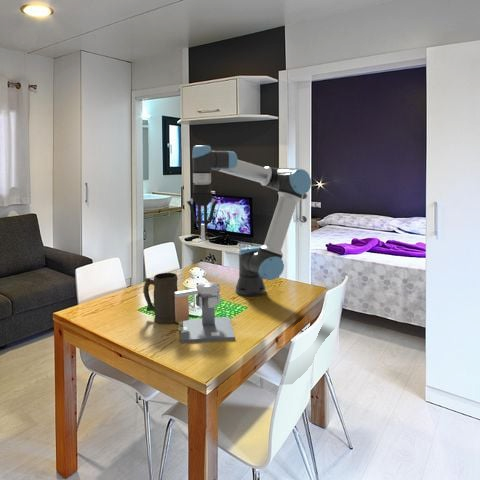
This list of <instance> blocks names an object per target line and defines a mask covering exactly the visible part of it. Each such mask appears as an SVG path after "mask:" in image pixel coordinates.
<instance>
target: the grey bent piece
mask: <svg viewBox="0 0 480 480" xmlns="http://www.w3.org/2000/svg"><path fill="white" fill-rule="evenodd" d="M220 288H221V287H220V284H219V283H217V282H214V281H212V282H211V281H206V282H205V281H204V282H200V283H198V284H196V288H194V289H187V290H180V291H178V292H175V321H176V322H175V323H179V322H182V321H187V320H189V319H190V309H189V307H190V304H189V303H190V300H189V297H190V296H194V295H195V304H196V306H197V307H198V308H202V298H207V301H208V308H212V307H215V308H217V307H218V305H219V304H221V293H220V292H221V291H220Z"/></svg>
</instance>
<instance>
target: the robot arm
mask: <svg viewBox="0 0 480 480" xmlns="http://www.w3.org/2000/svg"><path fill="white" fill-rule="evenodd" d="M191 158H192V183H193V185H192V196H191V198H190V199H188V200H187V201H186V203H187V205H188V206H189V209H190V212H191V215H192V219H193V223H194V224H196V225H197V230H198V233H200V240H201V241H205V240H206V233H208V225H209V224H211V223H212V222H213V216H214V212H215V208H216V205H217V204H218V200H217V199H215V198H214V197H213V195H212V184H211V183H212V170H213V171H217V172H221V173H225V174H227V175H231V176H235V177H238V178H242V179H245V180H250V181H253V182H256V183H260V185H261V186H262V187H266V188H269V189H272V190H274V191H277V195H278V200H277V204H276V206H275V209H274V213H273V215H272V219H271V222H270V224H269V228H268V231H267V234H266V237H265V239H264V243H263V245H260V246H244V247H242V248H240V249H239V253H238V265H239V266H238V273H239V274H238V279H237V282H236V285H235V293H236V294H237V295H241V296H245V297H257V296H261V295H264V294H265V293H266V285H265V282H264V280H267V281H273V280H276V279H277V278H279V277H280V276H282V274H283V272H284V267H285V263H284V260H283V259H282V258H283V256H284V254H283V252H282V249H283V245H284V242H285V241H286V236H287V233H288V230H289V227H290V224H291V222H292V218H293V216H294V212H295V209H296V207H297V206H296V205H297V203H299V202H300V201H302V198H303V195H305V194H307V193H308V192H309V191H310V189H311V187H312V179H311V177H310V173H309V172H308V171H306V170H305V169H303V168H299V167H295V168H293V167H292V168H291V167H290V168H289V167H271V166H260V165H257V164H254V163H252V162H247V161H244V160H240V159H238V155H237V153H236V152H235V151H231V150H212V148H211V146H210V145H193V147H192V155H191ZM194 203H195V204H196V206H197V216H196V212H195V210H194V209H195V208H194V206H193V204H194ZM210 203H211V208H210V212H209V216H208V205H209V204H210ZM202 206H203V223H202ZM196 217H197V218H196Z"/></svg>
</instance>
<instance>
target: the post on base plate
mask: <svg viewBox="0 0 480 480" xmlns="http://www.w3.org/2000/svg"><path fill="white" fill-rule="evenodd" d="M215 308H216V307H212V308H208V301H207V298H202V307H201V317H200V318H189V320H187V321H182V322H178V331H179V332H180V343H181V344H185V343H187V344H188V343H205V342H220V341H221V342H223V341H236V336H235V331H234V328H233V326H232V322H231V318H230V316H222V317H220V316H219V317H216V316H215V314H216V312H215Z"/></svg>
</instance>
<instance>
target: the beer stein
mask: <svg viewBox="0 0 480 480" xmlns="http://www.w3.org/2000/svg"><path fill="white" fill-rule="evenodd" d="M178 279H179V278H178V275H177V274H176V273H174V272H161V273H157V274H155V275H154V278H153V279H151V278H150V277H146V278H145V279H144V280H145V281H144V285H143V296H144V299H145V302H146V303H147V307H146V311H147V312H151V311H152V312H153V313H154V318H153V319H154V322H156V323H157V324H161V325H171V324H175V323H177V322H176V321H175V292H179V291H178ZM150 285H152V286H153V303H152V300H151V296H150V292H149V291H150V290H149V287H150Z"/></svg>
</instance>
